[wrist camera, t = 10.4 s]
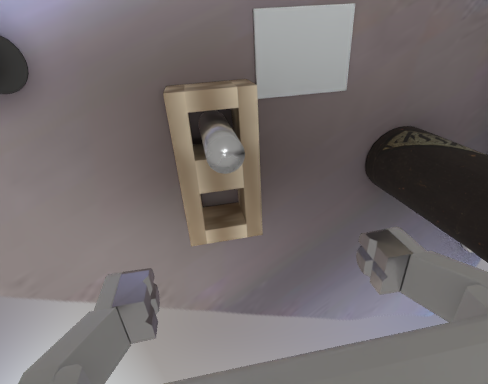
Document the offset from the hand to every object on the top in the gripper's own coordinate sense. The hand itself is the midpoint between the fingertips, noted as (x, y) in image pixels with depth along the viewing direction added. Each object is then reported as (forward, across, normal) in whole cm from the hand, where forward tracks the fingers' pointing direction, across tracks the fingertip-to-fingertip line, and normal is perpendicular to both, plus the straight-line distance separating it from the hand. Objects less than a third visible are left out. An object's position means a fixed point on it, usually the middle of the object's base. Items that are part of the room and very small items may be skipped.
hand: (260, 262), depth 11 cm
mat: (+22, -10, -6) cm, 25 cm away
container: (+23, -23, +7) cm, 33 cm away
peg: (+22, 0, 0) cm, 22 cm away
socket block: (+22, 0, +4) cm, 23 cm away
